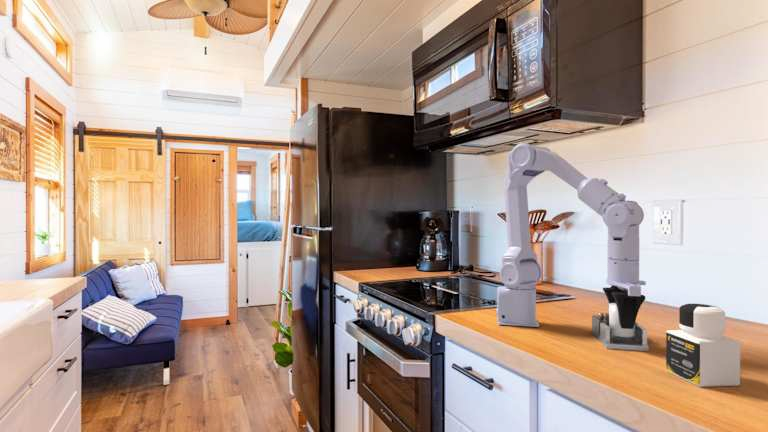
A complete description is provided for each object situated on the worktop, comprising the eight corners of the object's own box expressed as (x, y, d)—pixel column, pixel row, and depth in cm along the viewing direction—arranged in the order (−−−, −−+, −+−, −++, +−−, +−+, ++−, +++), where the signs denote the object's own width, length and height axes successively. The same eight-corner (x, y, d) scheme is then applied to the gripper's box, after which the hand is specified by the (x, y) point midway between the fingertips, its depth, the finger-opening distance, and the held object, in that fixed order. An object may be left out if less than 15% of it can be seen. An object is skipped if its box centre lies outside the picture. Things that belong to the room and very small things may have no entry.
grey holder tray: (606, 348, 86) (606, 322, 86) (592, 332, 98) (592, 309, 98) (648, 351, 84) (649, 325, 84) (628, 334, 96) (628, 311, 96)
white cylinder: (613, 336, 86) (612, 302, 86) (606, 330, 91) (605, 297, 91) (638, 337, 85) (637, 302, 85) (630, 331, 90) (629, 298, 90)
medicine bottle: (665, 371, 74) (665, 301, 74) (703, 369, 74) (703, 300, 74) (699, 387, 66) (699, 310, 66) (741, 386, 67) (741, 310, 67)
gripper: (659, 263, 80) (658, 336, 80) (632, 256, 94) (632, 318, 94) (617, 262, 82) (617, 333, 82) (597, 255, 96) (597, 316, 96)
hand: (622, 325), depth 88 cm, fingers closed on white cylinder, 5 cm apart
